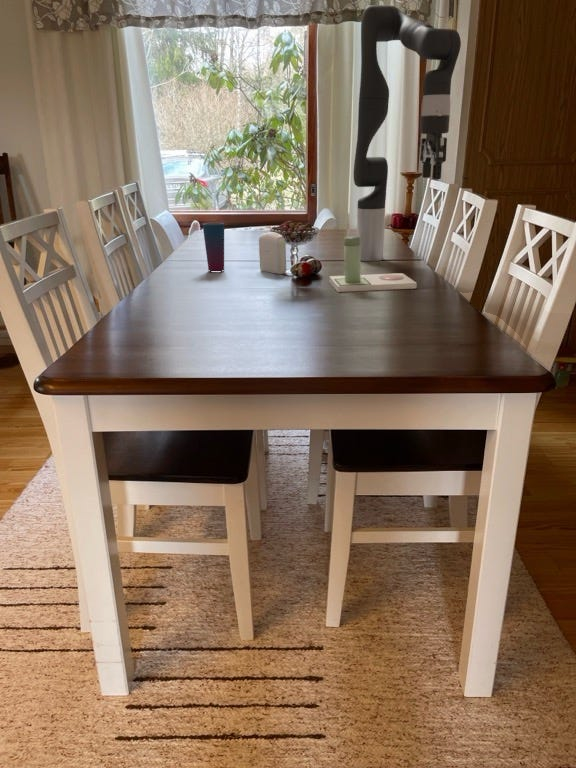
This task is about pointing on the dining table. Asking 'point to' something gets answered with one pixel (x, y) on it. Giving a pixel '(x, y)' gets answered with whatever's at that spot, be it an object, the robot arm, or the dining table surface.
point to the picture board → (374, 282)
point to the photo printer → (272, 252)
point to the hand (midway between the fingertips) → (431, 178)
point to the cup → (214, 245)
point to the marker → (352, 259)
